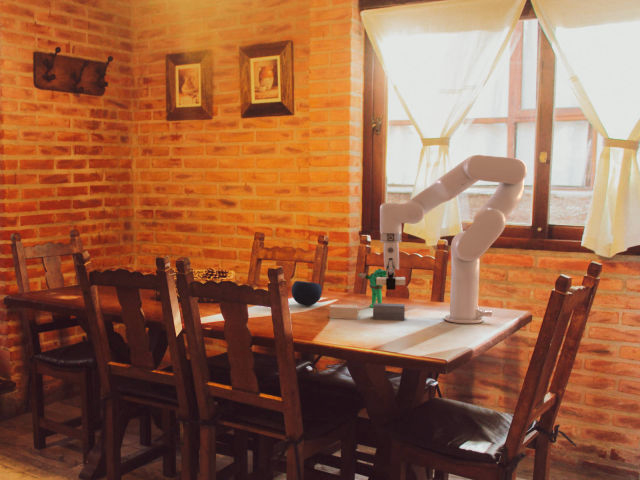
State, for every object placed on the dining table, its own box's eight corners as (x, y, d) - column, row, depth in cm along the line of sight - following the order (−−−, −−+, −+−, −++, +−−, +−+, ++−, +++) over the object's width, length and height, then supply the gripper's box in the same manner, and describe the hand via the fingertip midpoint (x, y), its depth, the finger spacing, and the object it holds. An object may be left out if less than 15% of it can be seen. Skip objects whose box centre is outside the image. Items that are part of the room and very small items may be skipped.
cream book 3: (405, 282, 269) (405, 277, 269) (405, 285, 264) (405, 279, 263) (376, 282, 271) (376, 277, 271) (376, 285, 266) (376, 279, 265)
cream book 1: (358, 310, 274) (358, 305, 274) (357, 313, 268) (357, 308, 268) (330, 309, 276) (330, 304, 276) (329, 312, 270) (329, 307, 270)
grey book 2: (404, 317, 270) (404, 310, 270) (404, 320, 266) (404, 313, 265) (373, 316, 273) (373, 309, 272) (372, 319, 268) (373, 312, 268)
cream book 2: (358, 315, 274) (358, 310, 274) (357, 318, 268) (357, 313, 268) (330, 314, 276) (330, 309, 276) (329, 317, 271) (329, 312, 270)
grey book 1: (404, 310, 270) (404, 304, 270) (404, 313, 265) (404, 306, 265) (373, 309, 272) (373, 303, 272) (373, 312, 268) (373, 305, 267)
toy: (404, 313, 279) (405, 273, 277) (390, 314, 276) (390, 274, 274) (368, 302, 302) (368, 265, 301) (354, 303, 300) (354, 266, 298)
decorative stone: (320, 308, 288) (321, 283, 287) (290, 308, 290) (290, 282, 289) (322, 303, 300) (322, 278, 299) (292, 302, 302) (292, 278, 300)
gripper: (401, 240, 256) (401, 291, 258) (401, 235, 273) (401, 284, 275) (379, 240, 258) (379, 291, 260) (380, 235, 275) (380, 284, 277)
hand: (390, 287), depth 268 cm, fingers closed on cream book 3, 6 cm apart
